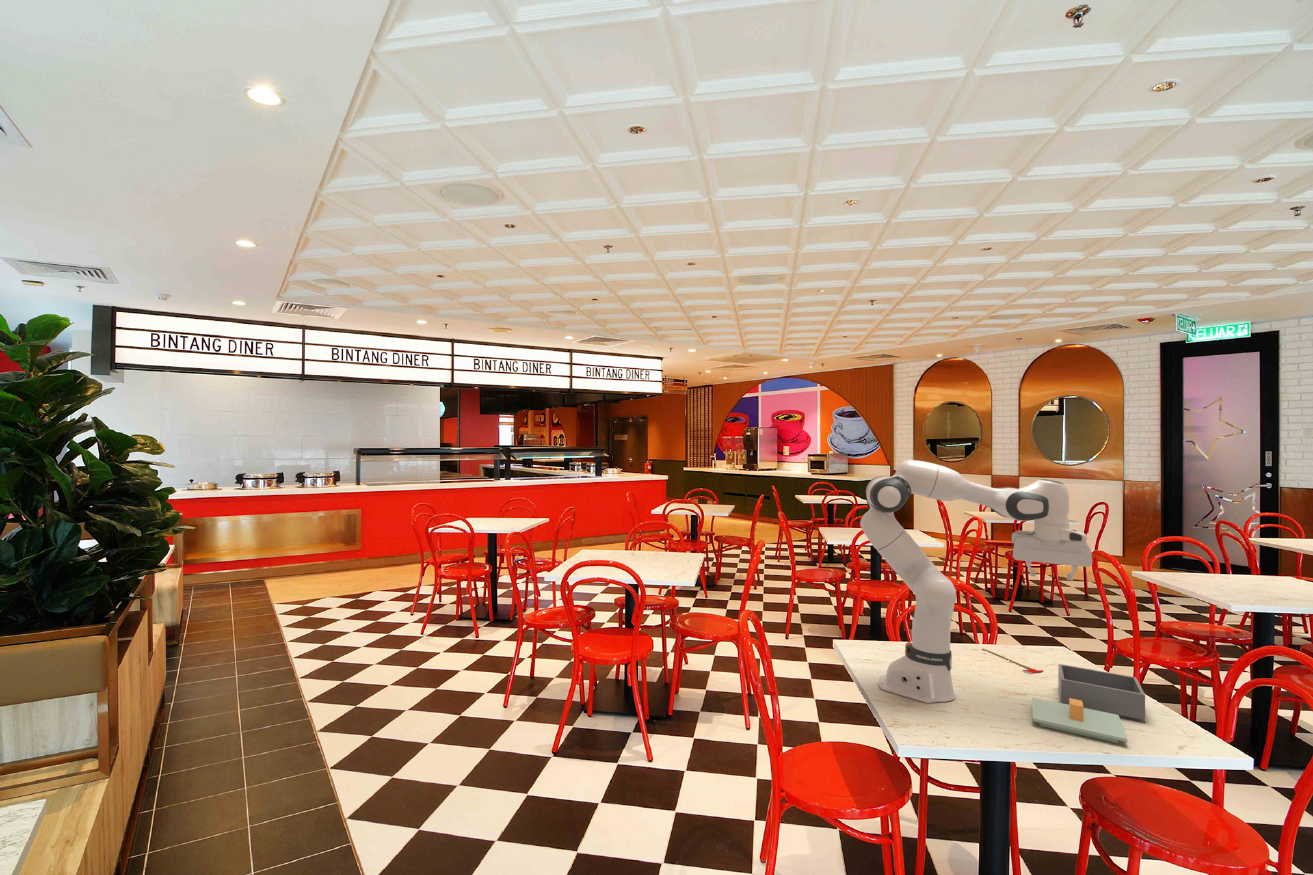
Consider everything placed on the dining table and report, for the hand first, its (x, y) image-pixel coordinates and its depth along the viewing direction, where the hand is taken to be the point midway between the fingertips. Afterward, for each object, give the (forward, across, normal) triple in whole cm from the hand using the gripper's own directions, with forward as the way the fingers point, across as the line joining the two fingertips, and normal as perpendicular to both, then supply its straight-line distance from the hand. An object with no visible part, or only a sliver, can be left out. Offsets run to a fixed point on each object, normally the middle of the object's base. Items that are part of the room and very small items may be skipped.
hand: (1050, 577), depth 180 cm
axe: (+40, -10, +40) cm, 58 cm away
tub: (+39, +13, +11) cm, 43 cm away
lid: (+39, +6, -10) cm, 41 cm away
